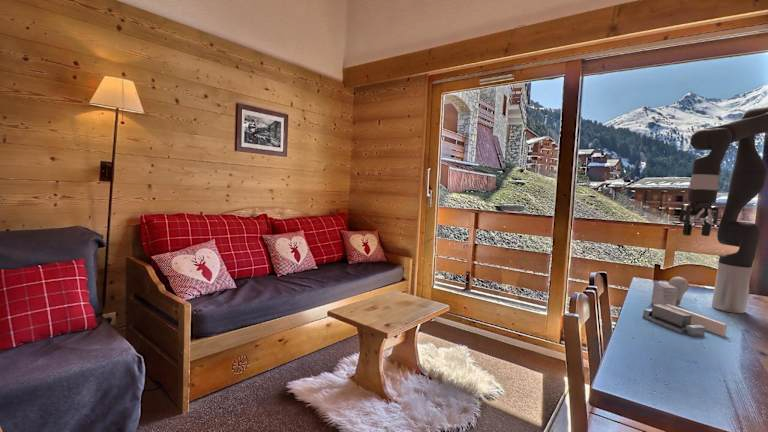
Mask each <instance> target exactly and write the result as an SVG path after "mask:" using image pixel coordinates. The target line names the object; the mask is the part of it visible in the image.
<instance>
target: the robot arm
mask: <svg viewBox="0 0 768 432" xmlns="http://www.w3.org/2000/svg"><path fill="white" fill-rule="evenodd" d="M760 134H768V106H764V107H763V106H762V107H755V108H749V109H747V110H745V111H744V112H743V114H742V116H741V119H736V120H732V121H729V122H726V123H722V124H720V125H717V126H711V127H710V126H709V127H706V128H701V129H698V130H696V131H695V132H694V133H693V134H692V136H691V137H690V139H689V140H690V141H689V142H690V146H691V147H692V148H693V149H694V150H697V151H710V152H709V153H708V154H707V155H705V156H701V157H700V156H699V157H697V158H695V159H694V162H693V167H692V174H691V177H690V181H689V187H688V193H687V202H689V204H684V203H683V204H681V208H680V214H679V219H678V222H681V223H682V224H683V230H682V234H683V235H684V236H689V237H690V236H692V231H693V224H694V222H695V221H697V220H698V219H700V220H701V222H702V228H701V233H700V235H701V236H702V237H709V236H711V235H710V234H711V231H712V230H711V229H712V226H714V224H715V225H716V224H718V217H719V210H720V207H719V206H713V205H712V204H715V203H716V202H717V196H718V190H719V186H720V185H719V184H720V172H721V165H722V162H723V160H724V158H725V156H726V153H727V152H728V150H729V147H730V146H731V144H733V143H735V142H737V143H738V144H737V149H736V155H735V160H734V165H733V169H732V171H731V172H732V173H731V176H730V181H729V182H730V183H729V186H728V187H729V189H728V193H727V198H726V203H725V206H724V210H723V212H722V215H721V219H720V221H719V225H718V229H717V234H716V238H717V241H718V243H719V244H721V245H723V246H724V245H725V246H731V247H736V248H737V247H738V249H737V251H736V252H733V253H728V254H721V255H720V256H719V258H718V263H717V264H718V265H717V271H716V276H715V284H714V290H713V293H712V294H713V295H712V300H711V301H712V302H711V307H712V308H714V309H717V310H719V311H723V312H726V313H727V312H728V313H732V314H745V312H747V311H746V309H747V304H748V299H749V294H750V280H751V276H752V275H751V273H752V269H753V263H754V261H755V258H756V254H757V253H756V252H757V249H758V244H759V242H760V241H759V240H760V237H761V228H760V227H759V225H758V224H756V223H752V222H745V221H744V222H743V221H738V218H739V215H740V214H741V213H742V212H741V211H742V210H743V209H744V208H745V207H746V206H747V205H748V204H749V202H751V201H752V200H753V199H754V198H755V197H756V196H757V195H759V193H760V192H762V190H763V189H764V186H765V183H766V177H767V173H768V168H767V164H766V163H765V162H764V160H763V158H762V157H761V156H760V154H759V152H758V149H757V148H756V144H755V141H756V140H755V139H756V135H760Z"/></svg>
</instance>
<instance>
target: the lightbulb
mask: <svg viewBox="0 0 768 432" xmlns="http://www.w3.org/2000/svg"><path fill="white" fill-rule="evenodd" d="M668 284H669V285H671V286H673V287H675V288H677V289H678V291H677V299H676V306H678V305H679V306H680V305H681V301H682V299H683V296H684V295H685V294H686V292H687V291H688V290H689V288H690V285H689V284H690V283H689V282H688V281H687V279H686V278H684V277H681V276H673V277H672V278H670V279H669V281H668Z"/></svg>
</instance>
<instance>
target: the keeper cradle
mask: <svg viewBox="0 0 768 432" xmlns="http://www.w3.org/2000/svg"><path fill="white" fill-rule="evenodd" d="M651 314H652V308H644V309H643V314H642V317H644V319H646V320H647V321H650V322H652V323H654V324H657V325H660V326H663V327H665V328H667V329H670V330H672V331H675V332H677V333H678V334H685V335H688V336H691V337H698V336H705V331H706V330H705V328H706V327H703V326H701V325H692V324H691V325H686V331H684V330H683V329H680V328H678V327H675V326H673V325H670V324H667V323H665V322H662V321H660V320H657V319H655V318H652V317H651Z"/></svg>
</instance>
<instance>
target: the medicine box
mask: <svg viewBox="0 0 768 432" xmlns="http://www.w3.org/2000/svg"><path fill="white" fill-rule="evenodd" d="M677 291H678V289H677V288H675V287H673V286H671V285H669V283H666V282H660V281H658V282H657V281H656V282H653V288H652V295H651V305H652V306H653V305H659V304H661V305H664V306H665V305H666V304H669V305H672V306H675V307H677V305H676V299H677Z"/></svg>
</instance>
